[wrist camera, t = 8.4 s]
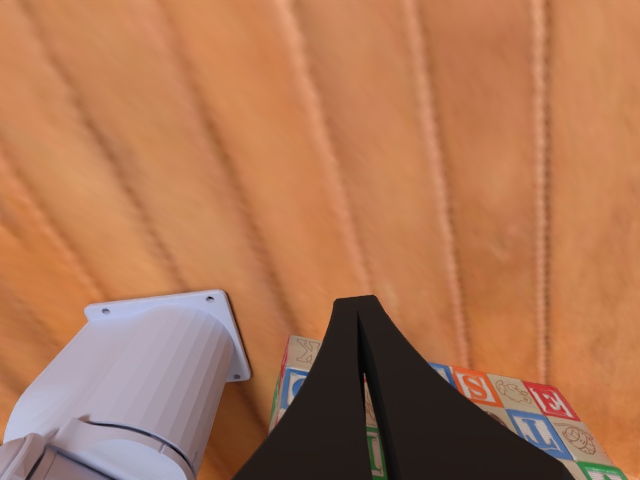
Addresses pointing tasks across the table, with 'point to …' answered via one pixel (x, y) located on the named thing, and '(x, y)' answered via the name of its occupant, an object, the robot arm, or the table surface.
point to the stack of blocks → (487, 393)
